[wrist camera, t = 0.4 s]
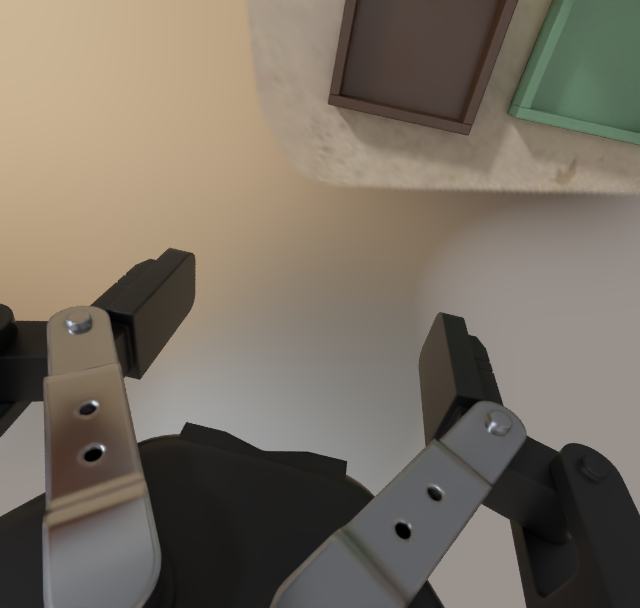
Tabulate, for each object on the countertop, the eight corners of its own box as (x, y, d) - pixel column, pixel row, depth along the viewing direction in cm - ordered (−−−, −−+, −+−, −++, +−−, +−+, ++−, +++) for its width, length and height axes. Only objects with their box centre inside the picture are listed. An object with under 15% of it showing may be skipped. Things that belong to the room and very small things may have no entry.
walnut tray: (363, -81, 29) (361, -91, 27) (526, -46, 29) (537, -54, 27) (331, 101, 36) (327, 104, 33) (463, 130, 35) (468, 135, 33)
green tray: (582, -75, 28) (599, -85, 25) (755, -38, 27) (787, -46, 25) (506, 113, 34) (515, 117, 32) (646, 144, 34) (663, 150, 32)
